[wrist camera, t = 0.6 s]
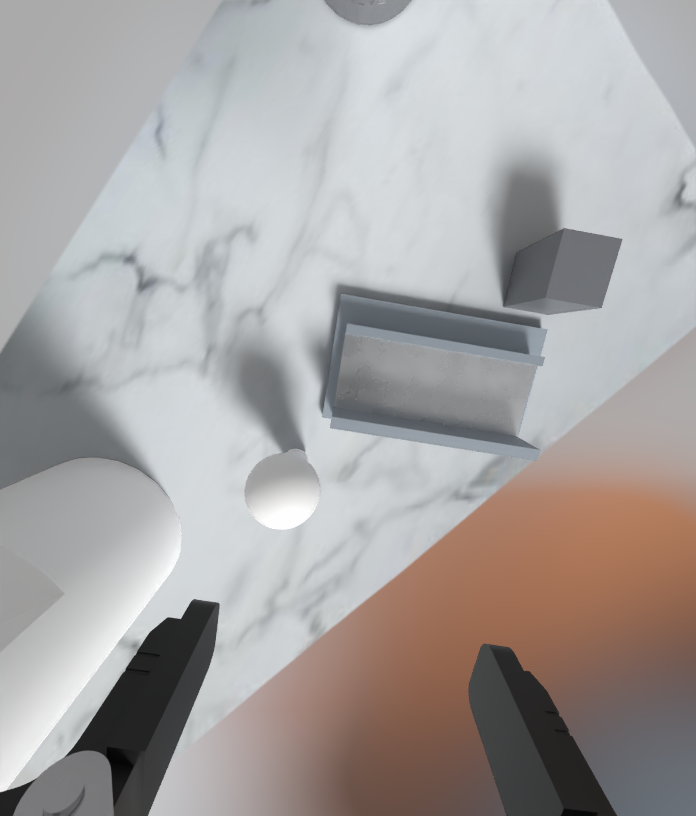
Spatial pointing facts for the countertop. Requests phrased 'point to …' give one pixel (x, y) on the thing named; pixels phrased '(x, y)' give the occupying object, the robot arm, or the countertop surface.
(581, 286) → the block
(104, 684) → the countertop surface
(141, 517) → the cylinder
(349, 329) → the grey stepped stand
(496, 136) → the countertop surface
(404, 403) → the plate
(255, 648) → the countertop surface
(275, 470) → the lightbulb
